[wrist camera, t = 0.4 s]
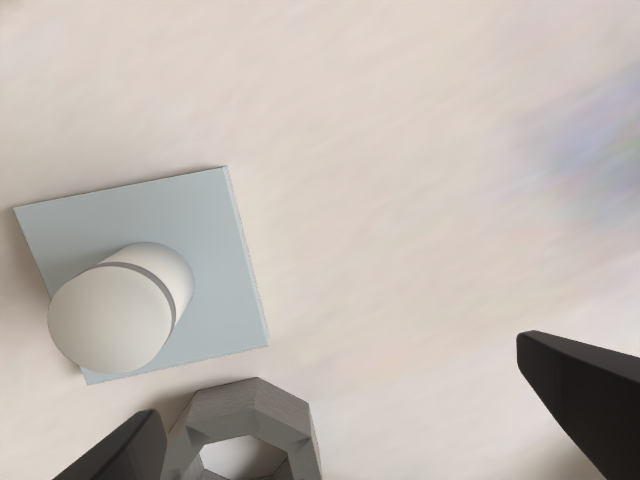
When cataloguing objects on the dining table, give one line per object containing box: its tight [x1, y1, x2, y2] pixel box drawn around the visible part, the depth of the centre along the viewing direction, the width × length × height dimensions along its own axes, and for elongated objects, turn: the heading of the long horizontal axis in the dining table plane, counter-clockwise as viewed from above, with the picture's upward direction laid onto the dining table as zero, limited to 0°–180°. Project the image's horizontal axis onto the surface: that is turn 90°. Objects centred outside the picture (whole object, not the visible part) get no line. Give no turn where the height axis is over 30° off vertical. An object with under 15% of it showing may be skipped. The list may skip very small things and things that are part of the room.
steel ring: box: [160, 377, 323, 480], centre depth 23 cm, size 10×10×3 cm
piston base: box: [13, 166, 269, 386], centre depth 18 cm, size 11×11×6 cm
